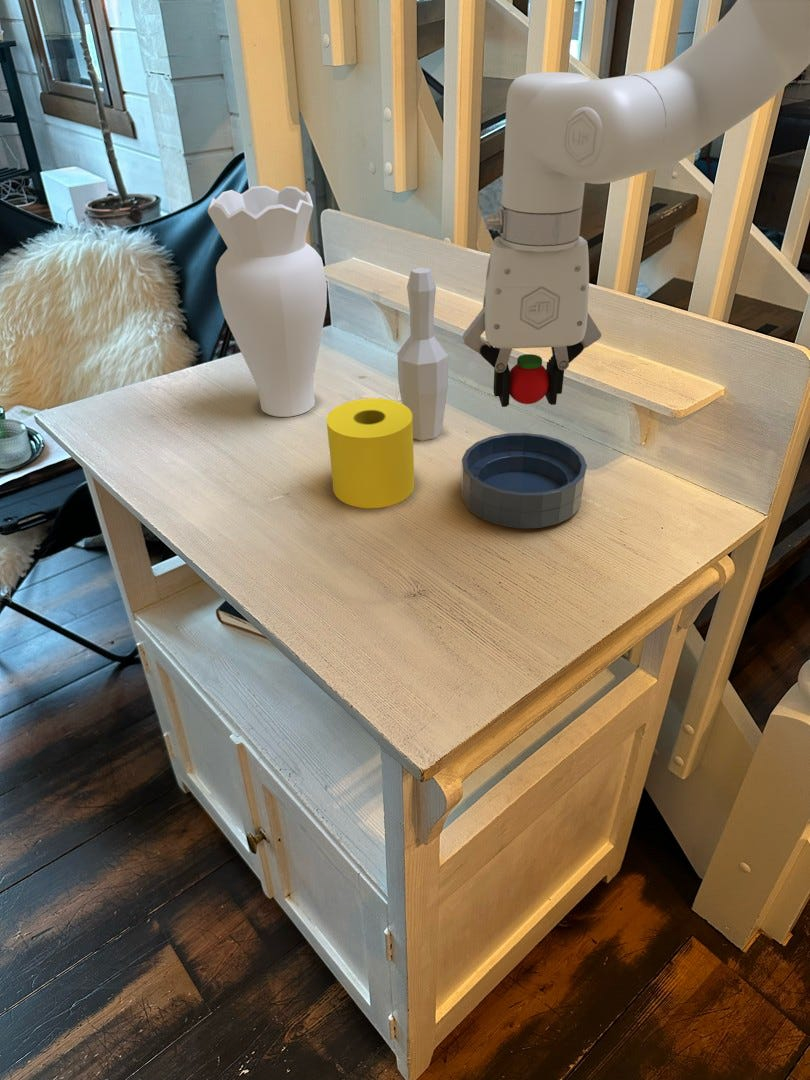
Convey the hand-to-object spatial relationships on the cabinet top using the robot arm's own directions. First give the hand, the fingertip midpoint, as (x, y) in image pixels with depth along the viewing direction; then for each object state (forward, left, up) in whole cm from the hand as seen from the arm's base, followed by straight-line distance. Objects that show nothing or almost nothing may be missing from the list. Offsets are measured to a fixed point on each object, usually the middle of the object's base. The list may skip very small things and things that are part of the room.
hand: (526, 398), depth 83 cm
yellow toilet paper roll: (+18, +2, -13) cm, 22 cm away
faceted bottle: (+16, -13, -13) cm, 24 cm away
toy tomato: (0, 0, 0) cm, 0 cm away
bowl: (0, 0, -13) cm, 13 cm away
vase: (+38, -16, -13) cm, 43 cm away
